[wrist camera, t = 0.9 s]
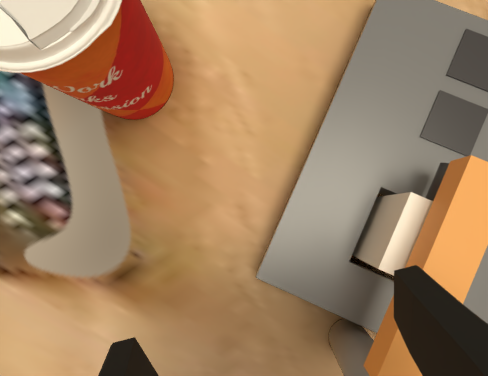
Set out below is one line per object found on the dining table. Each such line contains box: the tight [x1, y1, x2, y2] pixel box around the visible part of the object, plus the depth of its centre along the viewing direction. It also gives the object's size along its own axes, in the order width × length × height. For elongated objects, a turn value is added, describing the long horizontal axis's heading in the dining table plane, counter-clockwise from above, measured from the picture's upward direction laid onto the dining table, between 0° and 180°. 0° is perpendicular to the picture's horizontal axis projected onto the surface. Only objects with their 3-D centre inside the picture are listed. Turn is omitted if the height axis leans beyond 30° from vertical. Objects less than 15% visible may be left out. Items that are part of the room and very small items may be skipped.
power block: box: [256, 0, 488, 333], centre depth 25 cm, size 14×20×3 cm
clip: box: [329, 155, 488, 376], centre depth 22 cm, size 12×2×10 cm, turn 156°
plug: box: [352, 163, 449, 276], centre depth 23 cm, size 4×6×8 cm, turn 156°
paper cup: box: [0, 0, 174, 120], centre depth 21 cm, size 8×8×14 cm
